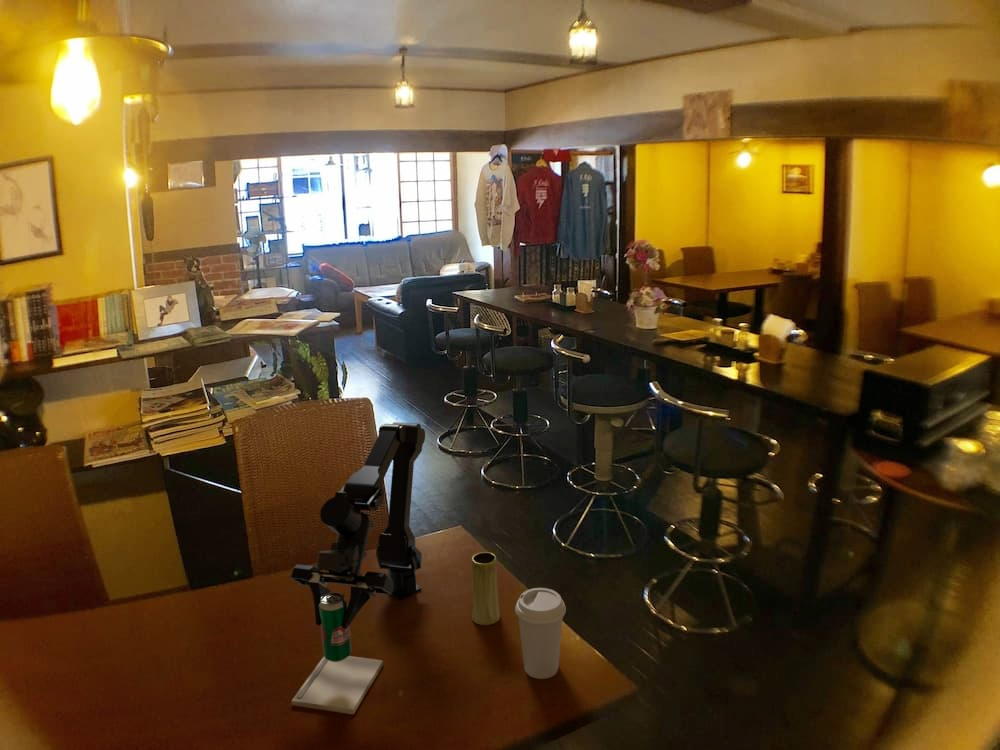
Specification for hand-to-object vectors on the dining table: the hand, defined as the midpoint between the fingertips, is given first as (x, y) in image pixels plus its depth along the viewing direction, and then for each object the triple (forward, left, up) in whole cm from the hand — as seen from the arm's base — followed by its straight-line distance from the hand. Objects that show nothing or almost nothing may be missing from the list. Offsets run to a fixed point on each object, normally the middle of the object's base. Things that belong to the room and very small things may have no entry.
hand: (331, 626), depth 134 cm
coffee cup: (+23, +31, -13) cm, 41 cm away
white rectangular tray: (-1, +1, -13) cm, 13 cm away
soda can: (-1, +1, -7) cm, 7 cm away
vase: (+3, +35, -13) cm, 38 cm away
